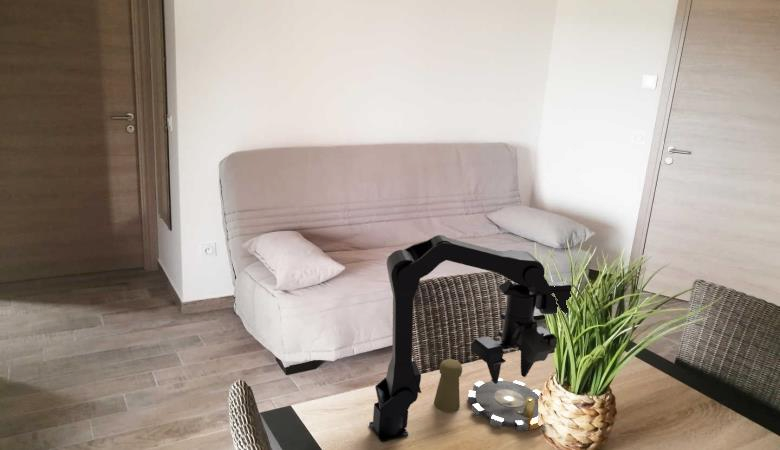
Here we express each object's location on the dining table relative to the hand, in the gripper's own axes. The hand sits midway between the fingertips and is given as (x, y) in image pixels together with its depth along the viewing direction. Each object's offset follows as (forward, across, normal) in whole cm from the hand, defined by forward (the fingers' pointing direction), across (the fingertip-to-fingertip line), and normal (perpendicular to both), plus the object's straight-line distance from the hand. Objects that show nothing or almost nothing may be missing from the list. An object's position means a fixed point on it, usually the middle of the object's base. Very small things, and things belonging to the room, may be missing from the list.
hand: (509, 379), depth 124 cm
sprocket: (+12, +6, +6) cm, 15 cm away
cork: (+12, -7, +12) cm, 18 cm away
